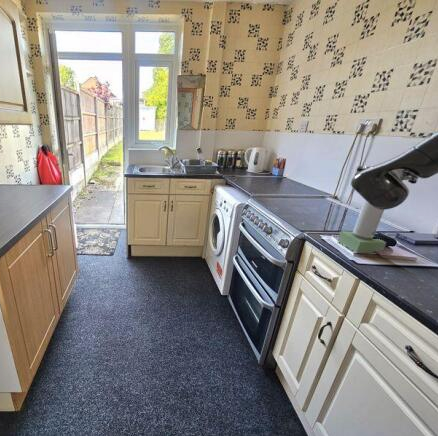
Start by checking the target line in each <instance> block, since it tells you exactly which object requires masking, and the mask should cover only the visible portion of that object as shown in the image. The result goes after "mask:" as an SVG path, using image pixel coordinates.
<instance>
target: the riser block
mask: <svg viewBox="0 0 438 436" xmlns="http://www.w3.org/2000/svg"><path fill="white" fill-rule="evenodd" d="M353 231H354V230H352V231H349V230H340V232H339V234H338V235H339V236H338V238H337V241H339V242H340V243H342V244H344V245H345V246H347V247H348V248H350V249H352V250H353V251H355V252H357V253H379V252H384V250H385V247H386V246H387V241H384V240H383V239H381V238H379V239H372V240H365V239H360V238H357V237H355V236H354V235H353ZM380 239H381V240H380ZM340 243H339V244H340ZM345 246H344V247H345ZM348 248H347V249H348ZM353 251H352V252H353Z"/></svg>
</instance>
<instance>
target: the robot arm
mask: <svg viewBox="0 0 438 436" xmlns="http://www.w3.org/2000/svg"><path fill="white" fill-rule="evenodd" d="M436 175H438V131H436V132H434V133H433V134H431V135H429V136H428V137H426V138H424V139H423V140H422V141H420V142H418V143H417V144H415V145H414V146H412V147H411V148H409V149H408V150H406V151H404V152H402V153H400V154H398V155H397V156H394V157H392V158H391V159H389V160H385V161H383V162H380V163H377V164H375V165H372V166H365V167H363V166H362V165H358V166H357V167H356V170H355V173H354V176H353V177H352V179H351V181H350V185H351V187H352V189H353V190H354V191H355V192H356V193H357V194H359V196H361V198H363V199H364V200H366V201H367V202H368V203H369V204H370V205H371V206H372V207H374V208H376V209H380V210H384V211H386V210H391V209H394V208H397V207H398V206H400V205H402V204H403V203H404V202H405V201H406V200H407V198H408V197H409V194H410V189H409V187H408V186H407V185H406V184H405V182H403V181H408V182H407V183H409V184H413V185H415V184H417V182H418V180H419V179H429V178H431V177H433V176H436Z"/></svg>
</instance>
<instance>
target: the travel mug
mask: <svg viewBox="0 0 438 436" xmlns="http://www.w3.org/2000/svg"><path fill="white" fill-rule="evenodd" d="M384 212H385V210H380V209H376V208H374V207H372V206H371V205H370V204H369V203H368V202H367V201H366V200H365V199H364V200H363V202H362V206H361V209H360V212H359V214H358V216H357V220H356V223H355V225H354V228H353V230H352V231H353V235H354V236H355V237H357V238H360V239H365V240H372V239H373V237H374V236H375V234H376V232H377V229H378V228H379V224H380V222H381V219H382V217H383V214H384Z"/></svg>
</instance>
